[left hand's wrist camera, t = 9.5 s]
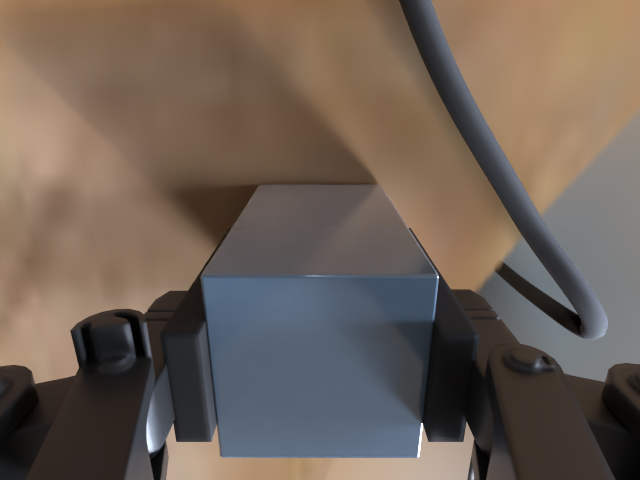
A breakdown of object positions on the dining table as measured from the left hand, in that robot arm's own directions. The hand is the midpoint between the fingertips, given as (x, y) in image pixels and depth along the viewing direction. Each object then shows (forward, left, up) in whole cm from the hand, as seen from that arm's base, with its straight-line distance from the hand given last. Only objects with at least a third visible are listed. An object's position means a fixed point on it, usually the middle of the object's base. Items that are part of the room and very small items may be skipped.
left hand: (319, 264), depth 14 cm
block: (0, 0, -2) cm, 2 cm away
